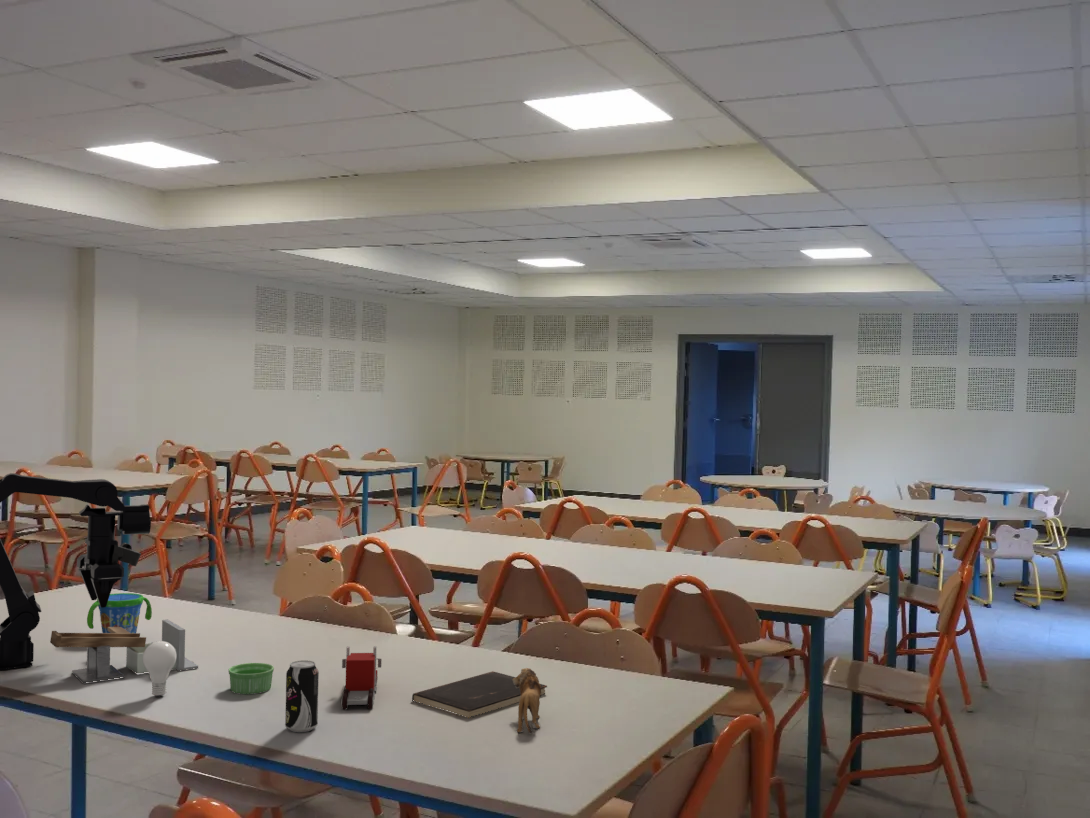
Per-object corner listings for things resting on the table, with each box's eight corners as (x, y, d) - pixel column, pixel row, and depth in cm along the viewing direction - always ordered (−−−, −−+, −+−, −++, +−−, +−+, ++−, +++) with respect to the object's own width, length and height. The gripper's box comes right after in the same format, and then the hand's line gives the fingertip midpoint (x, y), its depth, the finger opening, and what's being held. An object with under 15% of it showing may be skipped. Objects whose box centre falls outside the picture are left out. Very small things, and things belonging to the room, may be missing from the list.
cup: (137, 675, 216) (137, 654, 216) (126, 666, 223) (126, 646, 223) (176, 669, 221) (176, 648, 221) (164, 661, 228) (164, 641, 228)
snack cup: (142, 629, 258) (143, 589, 257) (159, 637, 250) (160, 596, 250) (78, 638, 247) (79, 597, 247) (94, 646, 239) (95, 604, 239)
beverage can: (279, 728, 184) (280, 662, 184) (306, 721, 188) (308, 657, 188) (295, 736, 180) (297, 669, 180) (323, 729, 184) (324, 663, 184)
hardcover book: (546, 696, 209) (547, 685, 209) (468, 722, 192) (468, 710, 192) (490, 681, 219) (490, 670, 219) (411, 704, 202) (411, 692, 202)
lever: (56, 650, 207) (58, 636, 207) (35, 631, 222) (37, 618, 222) (145, 649, 218) (147, 636, 218) (120, 632, 233) (122, 620, 233)
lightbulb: (140, 702, 198) (141, 646, 197) (143, 692, 204) (144, 638, 204) (174, 700, 199) (175, 644, 199) (177, 690, 205) (178, 637, 205)
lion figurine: (511, 711, 197) (512, 665, 197) (538, 711, 197) (539, 665, 197) (517, 736, 182) (518, 687, 182) (546, 736, 183) (548, 686, 183)
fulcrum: (83, 684, 209) (84, 649, 209) (72, 673, 217) (72, 640, 217) (124, 678, 214) (124, 644, 214) (111, 667, 222) (111, 635, 221)
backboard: (178, 671, 220) (179, 630, 220) (161, 659, 229) (162, 619, 229) (198, 668, 222) (198, 627, 222) (180, 656, 232) (180, 617, 232)
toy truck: (382, 683, 215) (383, 636, 215) (378, 711, 196) (379, 660, 196) (343, 683, 214) (344, 636, 214) (336, 712, 195) (337, 660, 195)
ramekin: (281, 685, 211) (282, 664, 211) (258, 697, 202) (258, 675, 202) (243, 681, 213) (244, 660, 213) (219, 693, 205) (219, 671, 205)
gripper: (149, 538, 227) (146, 608, 227) (127, 528, 242) (125, 593, 242) (96, 541, 220) (93, 612, 220) (77, 530, 235) (75, 597, 235)
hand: (98, 603), depth 230 cm, fingers open, 9 cm apart
